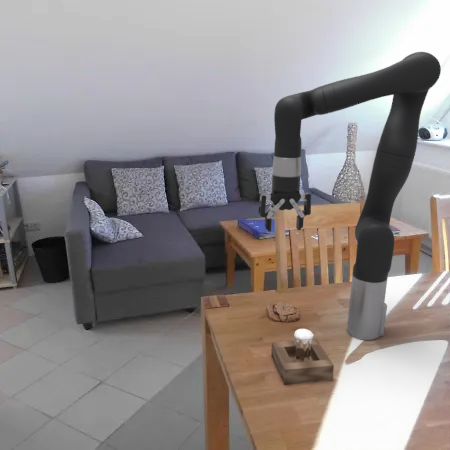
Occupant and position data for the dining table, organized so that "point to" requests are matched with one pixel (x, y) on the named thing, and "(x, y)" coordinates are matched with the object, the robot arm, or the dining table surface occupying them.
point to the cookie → (282, 312)
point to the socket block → (301, 363)
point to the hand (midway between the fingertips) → (283, 230)
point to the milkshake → (303, 344)
